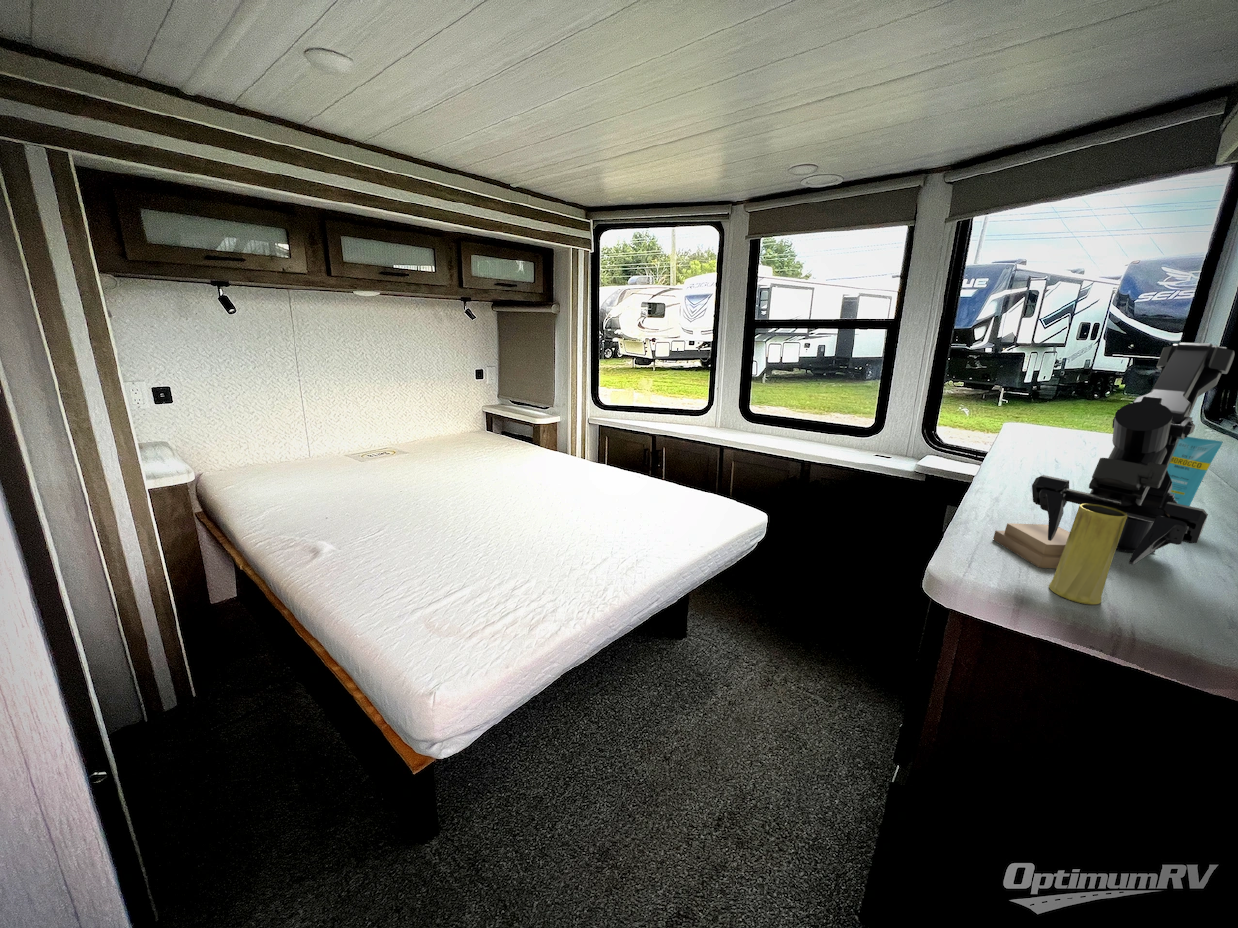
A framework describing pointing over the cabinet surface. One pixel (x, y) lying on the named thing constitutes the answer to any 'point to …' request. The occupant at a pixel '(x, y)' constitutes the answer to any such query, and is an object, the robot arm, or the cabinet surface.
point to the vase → (1088, 553)
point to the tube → (1190, 466)
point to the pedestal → (1033, 543)
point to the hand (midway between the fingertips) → (1088, 550)
